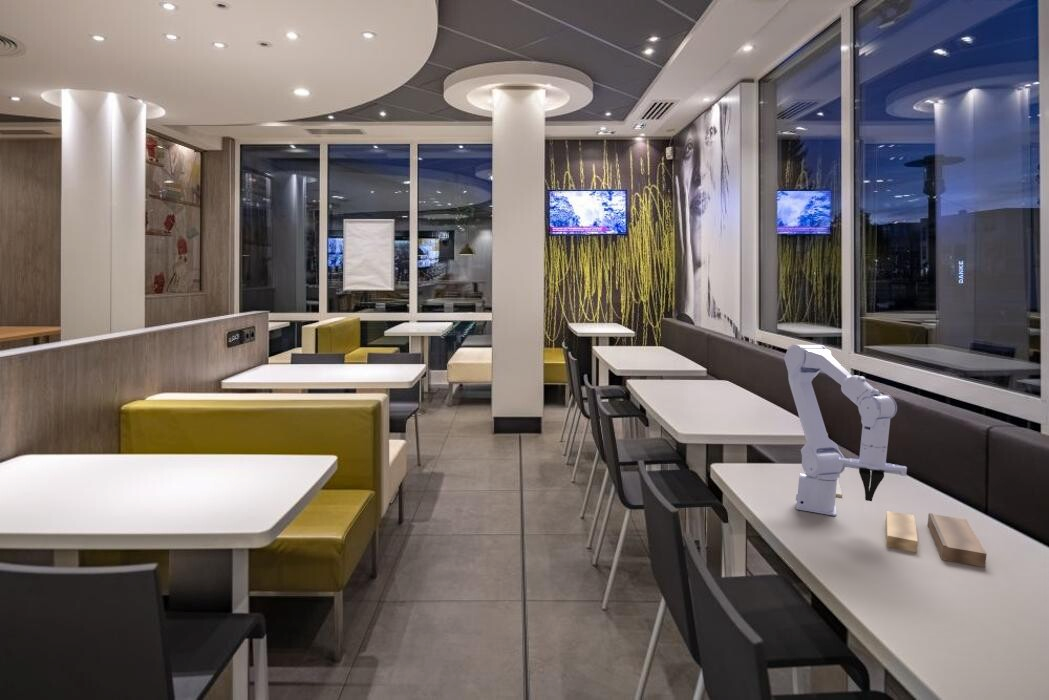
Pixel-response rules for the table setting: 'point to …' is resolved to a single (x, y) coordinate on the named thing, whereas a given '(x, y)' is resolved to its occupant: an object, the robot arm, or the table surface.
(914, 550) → the oak plank
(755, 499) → the table surface
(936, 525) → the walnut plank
